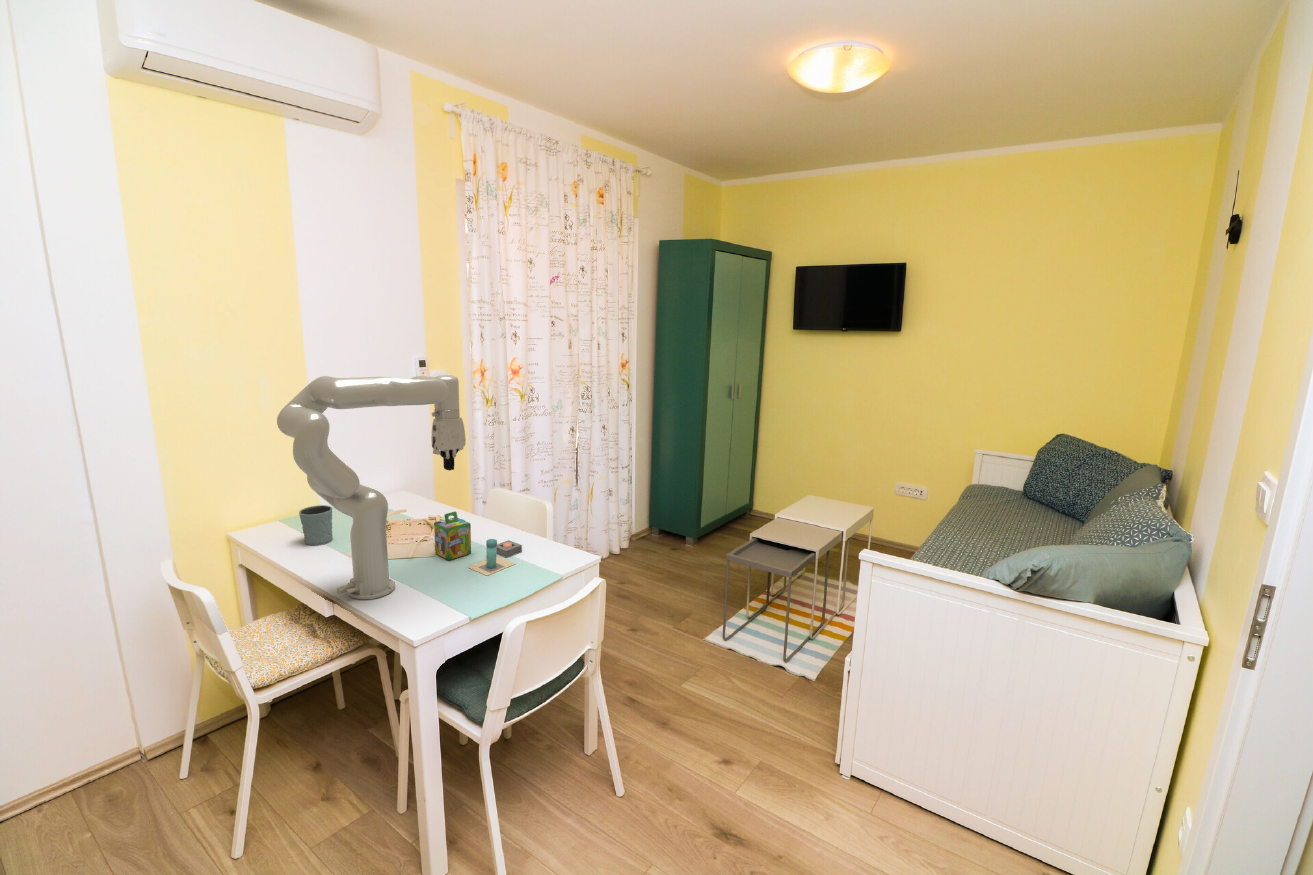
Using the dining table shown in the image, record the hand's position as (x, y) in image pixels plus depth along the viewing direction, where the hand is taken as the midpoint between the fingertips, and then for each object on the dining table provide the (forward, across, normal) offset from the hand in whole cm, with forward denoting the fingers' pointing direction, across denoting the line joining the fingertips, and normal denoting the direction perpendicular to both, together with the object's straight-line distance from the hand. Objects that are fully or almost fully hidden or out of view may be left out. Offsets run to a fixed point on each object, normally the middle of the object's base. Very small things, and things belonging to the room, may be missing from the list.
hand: (449, 469), depth 192 cm
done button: (+32, +17, -8) cm, 37 cm away
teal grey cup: (+32, -20, +50) cm, 63 cm away
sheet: (+32, +6, -13) cm, 35 cm away
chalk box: (+32, +4, +5) cm, 33 cm away
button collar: (+32, +17, -8) cm, 37 cm away
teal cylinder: (+32, +5, -14) cm, 35 cm away
